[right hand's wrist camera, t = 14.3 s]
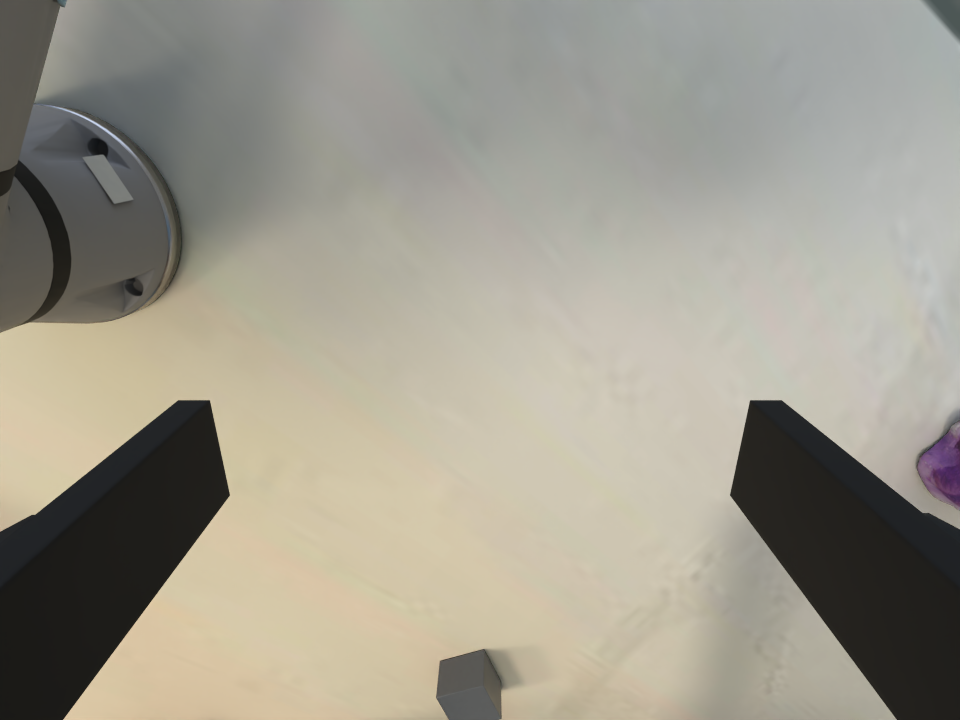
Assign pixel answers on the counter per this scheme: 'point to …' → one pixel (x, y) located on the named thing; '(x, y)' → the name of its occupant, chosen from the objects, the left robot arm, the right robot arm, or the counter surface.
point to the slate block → (469, 688)
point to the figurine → (943, 468)
